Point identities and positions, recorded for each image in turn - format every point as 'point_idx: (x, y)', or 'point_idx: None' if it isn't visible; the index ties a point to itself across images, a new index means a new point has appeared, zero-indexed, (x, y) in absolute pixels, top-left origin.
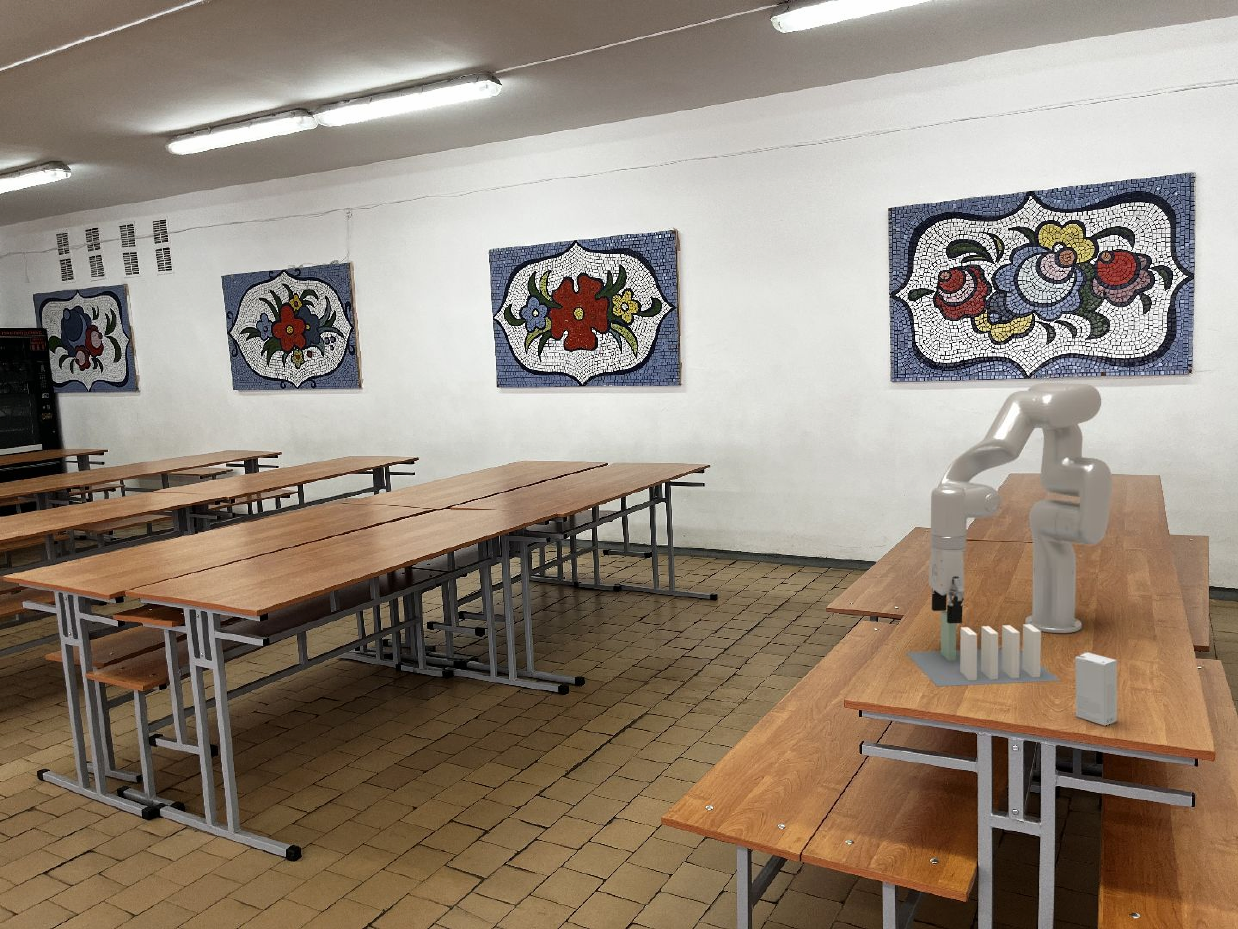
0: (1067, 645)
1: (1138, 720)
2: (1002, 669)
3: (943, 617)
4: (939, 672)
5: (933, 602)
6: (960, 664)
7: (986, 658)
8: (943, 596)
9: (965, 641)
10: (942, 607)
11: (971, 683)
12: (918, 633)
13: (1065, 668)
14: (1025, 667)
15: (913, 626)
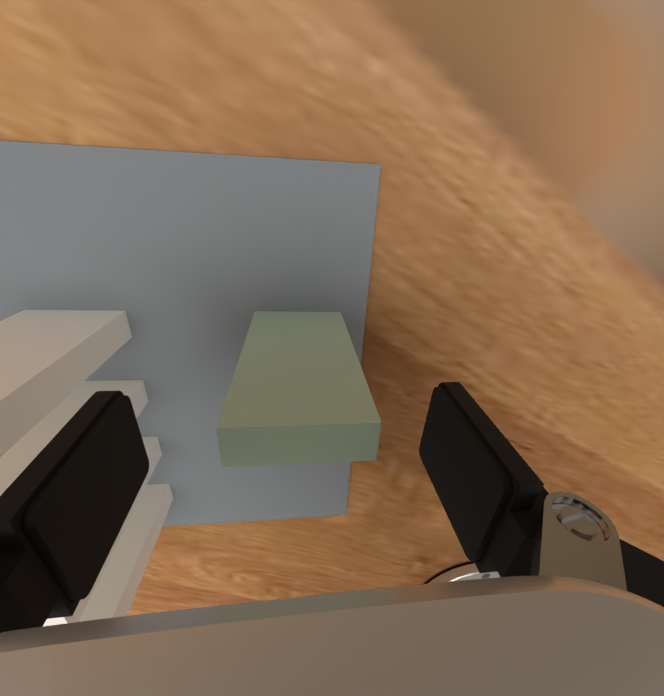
0: (346, 587)
1: None
2: (150, 439)
3: (328, 405)
4: (108, 224)
5: (464, 427)
6: (108, 322)
7: (48, 422)
8: (469, 533)
9: None
10: (430, 451)
11: None
12: (577, 311)
13: (194, 555)
14: (143, 495)
15: (646, 319)
